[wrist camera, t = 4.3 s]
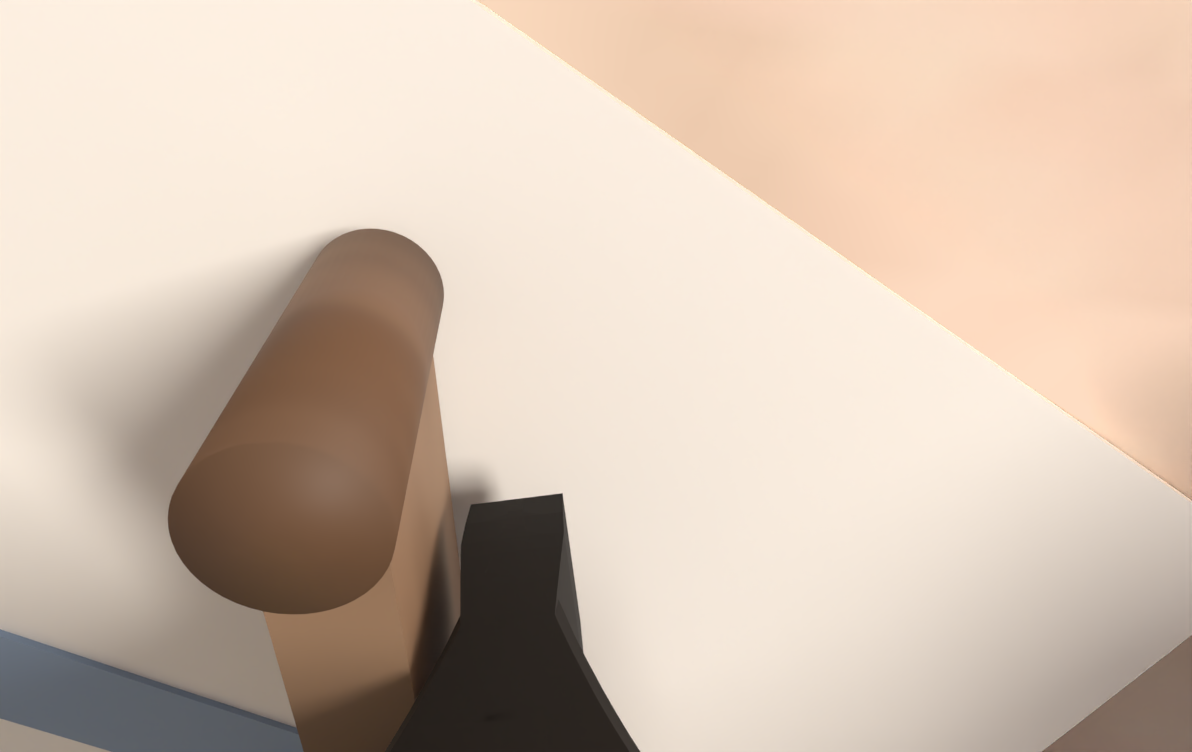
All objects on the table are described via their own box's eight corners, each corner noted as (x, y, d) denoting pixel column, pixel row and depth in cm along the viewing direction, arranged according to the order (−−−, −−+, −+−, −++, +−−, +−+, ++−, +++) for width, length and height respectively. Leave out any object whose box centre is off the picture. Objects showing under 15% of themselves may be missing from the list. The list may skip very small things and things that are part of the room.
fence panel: (501, 792, 13) (496, 1113, 9) (412, 800, 13) (372, 1127, 9) (436, 226, 8) (379, 435, 5) (297, 231, 8) (140, 450, 5)
